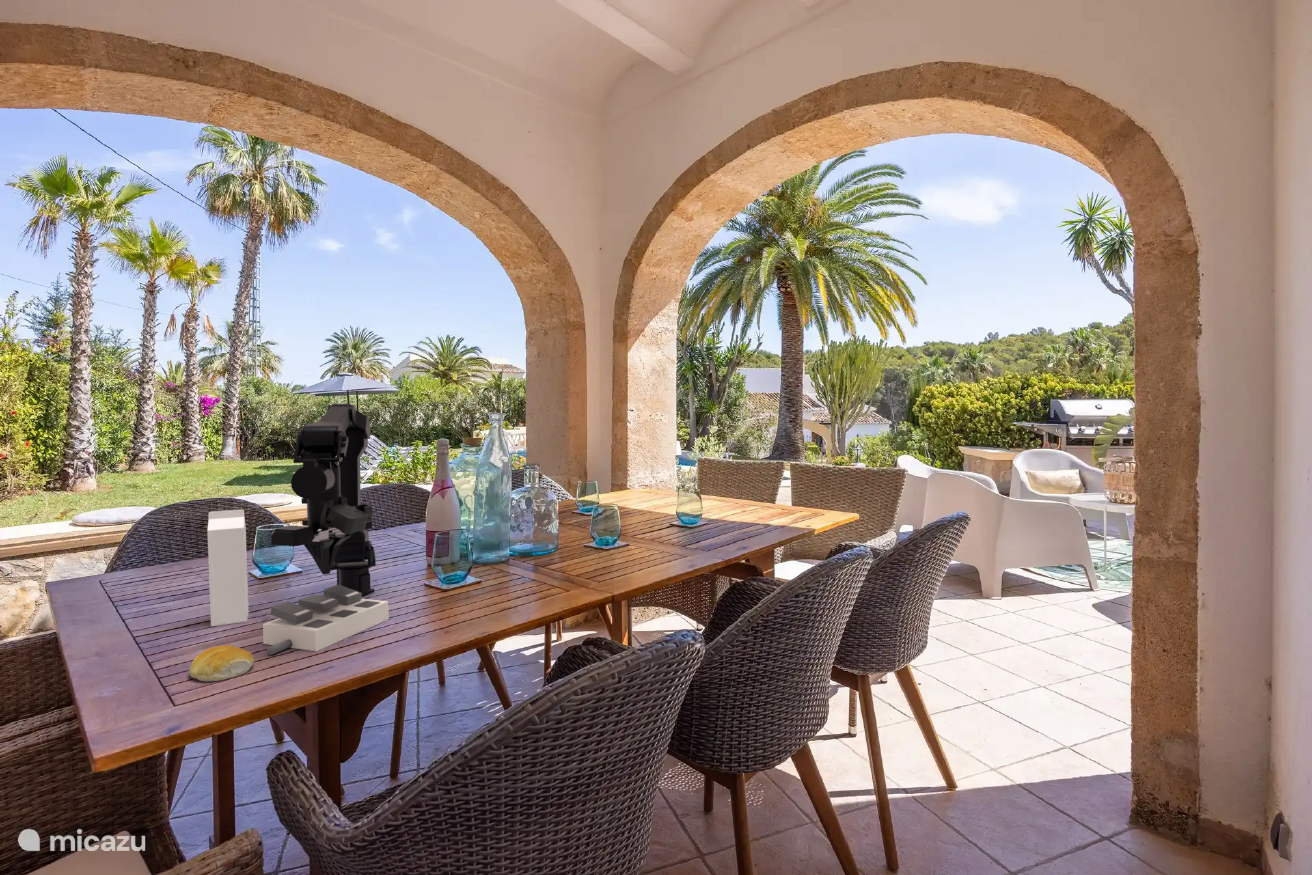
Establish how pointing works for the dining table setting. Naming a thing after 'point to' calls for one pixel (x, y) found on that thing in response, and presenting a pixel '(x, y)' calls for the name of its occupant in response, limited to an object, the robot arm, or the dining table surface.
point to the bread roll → (221, 663)
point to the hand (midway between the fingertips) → (326, 573)
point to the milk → (227, 567)
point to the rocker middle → (318, 603)
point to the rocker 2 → (342, 594)
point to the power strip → (324, 626)
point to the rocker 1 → (291, 612)
